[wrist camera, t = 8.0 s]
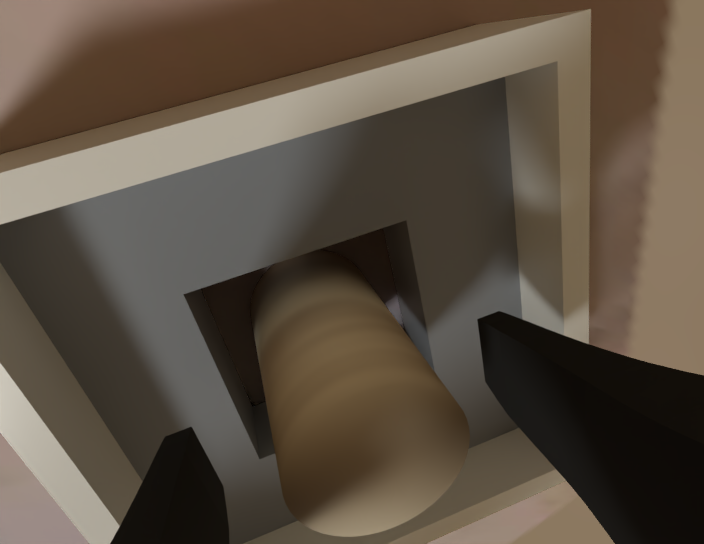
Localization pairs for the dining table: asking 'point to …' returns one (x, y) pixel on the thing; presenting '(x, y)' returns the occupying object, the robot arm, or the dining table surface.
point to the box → (288, 242)
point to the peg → (350, 401)
